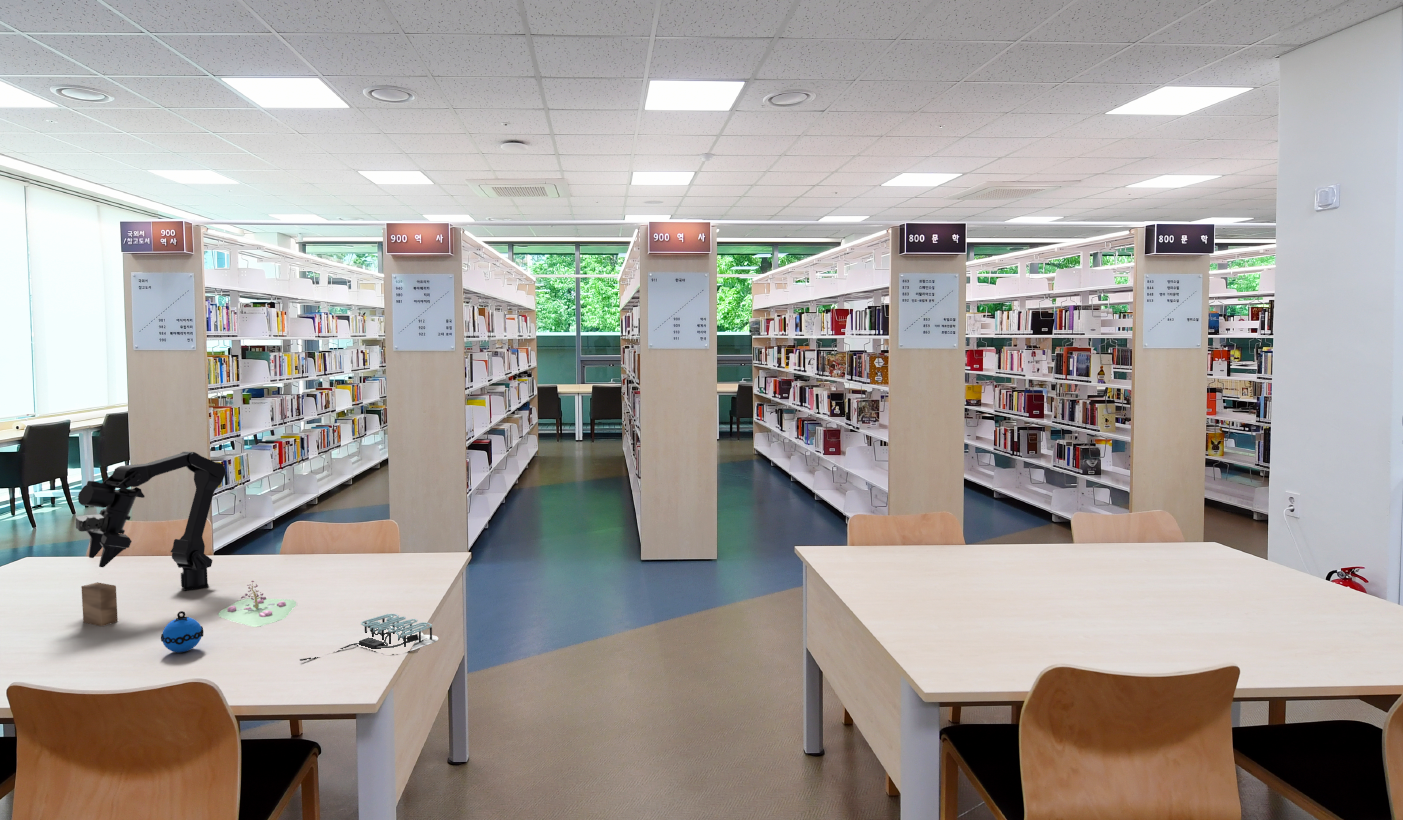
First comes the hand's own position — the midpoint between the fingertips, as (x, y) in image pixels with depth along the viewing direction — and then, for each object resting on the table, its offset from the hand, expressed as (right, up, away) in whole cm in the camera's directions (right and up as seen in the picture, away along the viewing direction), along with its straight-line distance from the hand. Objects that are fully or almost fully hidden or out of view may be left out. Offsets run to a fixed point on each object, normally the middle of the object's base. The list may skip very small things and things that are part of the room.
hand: (96, 562), depth 229 cm
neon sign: (+89, -17, -28) cm, 94 cm away
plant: (+47, -15, -1) cm, 49 cm away
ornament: (+44, -16, -30) cm, 56 cm away
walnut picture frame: (+8, -15, -9) cm, 19 cm away
